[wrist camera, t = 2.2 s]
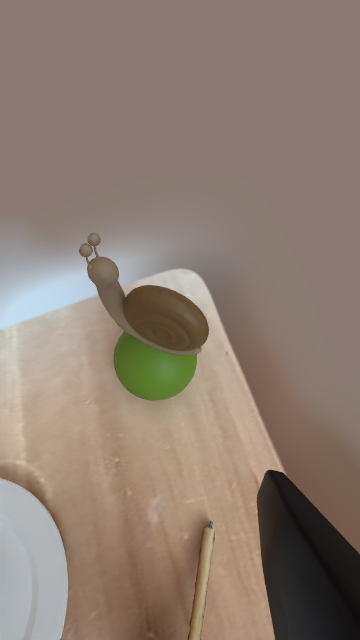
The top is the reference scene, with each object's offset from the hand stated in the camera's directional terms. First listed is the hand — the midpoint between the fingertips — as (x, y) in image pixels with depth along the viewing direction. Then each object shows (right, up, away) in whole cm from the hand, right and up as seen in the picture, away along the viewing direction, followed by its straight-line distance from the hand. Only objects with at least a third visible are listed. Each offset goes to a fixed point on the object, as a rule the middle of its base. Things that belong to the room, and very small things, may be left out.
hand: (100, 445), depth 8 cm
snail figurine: (0, 0, +14) cm, 14 cm away
